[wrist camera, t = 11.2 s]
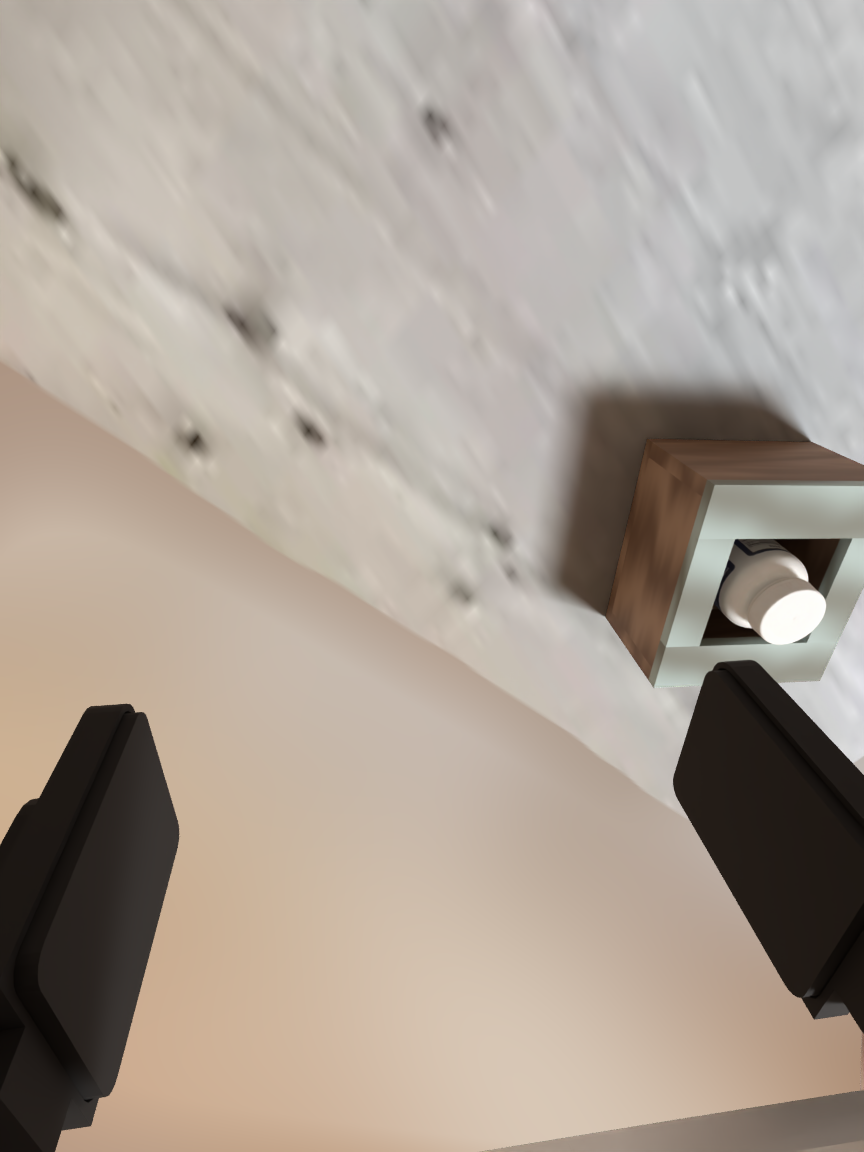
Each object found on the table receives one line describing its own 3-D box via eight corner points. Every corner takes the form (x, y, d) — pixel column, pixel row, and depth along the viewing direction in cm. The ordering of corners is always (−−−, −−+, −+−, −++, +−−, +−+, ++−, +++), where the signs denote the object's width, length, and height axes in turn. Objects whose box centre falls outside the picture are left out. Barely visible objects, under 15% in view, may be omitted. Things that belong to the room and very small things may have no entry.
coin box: (647, 438, 40) (714, 484, 33) (811, 442, 42) (910, 486, 34) (605, 616, 47) (653, 687, 40) (748, 613, 48) (819, 680, 41)
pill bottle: (693, 583, 45) (772, 669, 37) (657, 541, 43) (732, 622, 35) (756, 536, 44) (853, 615, 36) (722, 489, 41) (817, 562, 33)
